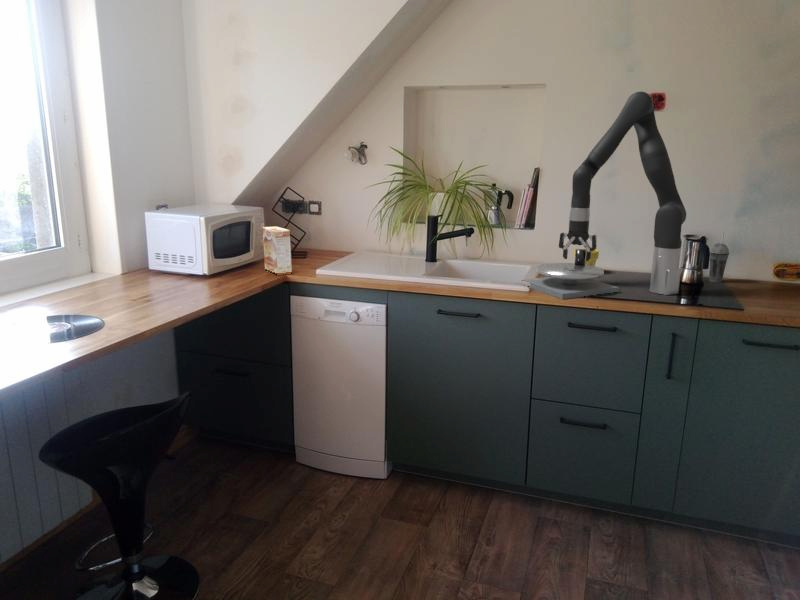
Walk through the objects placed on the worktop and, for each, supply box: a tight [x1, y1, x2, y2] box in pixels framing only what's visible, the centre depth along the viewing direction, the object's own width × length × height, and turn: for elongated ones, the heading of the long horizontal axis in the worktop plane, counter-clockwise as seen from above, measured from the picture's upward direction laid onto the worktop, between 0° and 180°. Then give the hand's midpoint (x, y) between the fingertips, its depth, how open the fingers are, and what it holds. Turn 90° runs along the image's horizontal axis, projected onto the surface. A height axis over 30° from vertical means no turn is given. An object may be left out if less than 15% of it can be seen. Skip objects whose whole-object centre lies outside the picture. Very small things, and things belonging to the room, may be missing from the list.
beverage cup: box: [708, 231, 730, 283], centre depth 245 cm, size 7×7×20 cm
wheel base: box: [520, 276, 620, 300], centre depth 234 cm, size 26×26×6 cm
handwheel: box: [536, 248, 605, 280], centre depth 232 cm, size 25×25×8 cm
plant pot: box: [573, 248, 600, 266], centre depth 264 cm, size 10×10×10 cm
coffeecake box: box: [262, 225, 293, 273], centre depth 264 cm, size 15×7×20 cm, turn 33°
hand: (576, 259), depth 241 cm, fingers open, 8 cm apart
